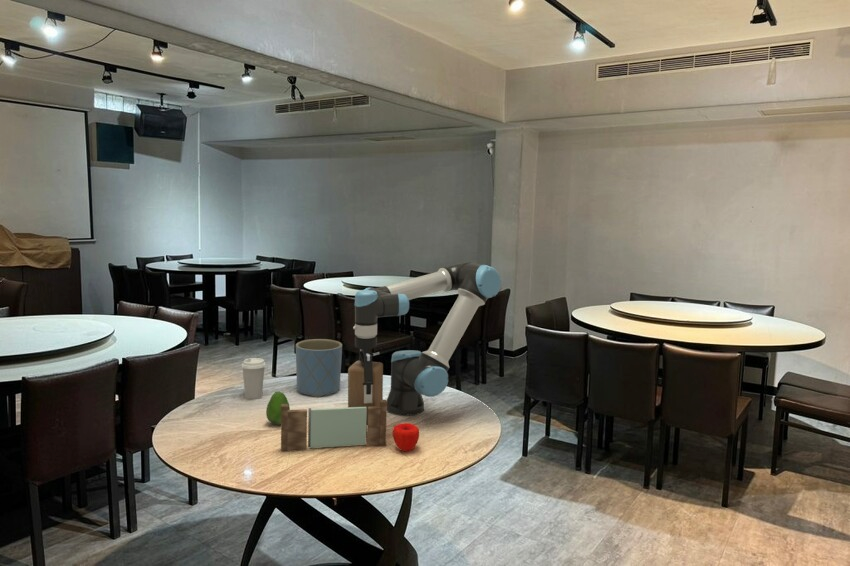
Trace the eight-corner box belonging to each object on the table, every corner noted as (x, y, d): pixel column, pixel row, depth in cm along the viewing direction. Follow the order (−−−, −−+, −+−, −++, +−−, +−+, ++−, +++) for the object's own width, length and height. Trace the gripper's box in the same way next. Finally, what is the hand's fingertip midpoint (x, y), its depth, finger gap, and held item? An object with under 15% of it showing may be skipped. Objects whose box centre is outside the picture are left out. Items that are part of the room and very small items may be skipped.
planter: (319, 401, 230) (320, 352, 227) (285, 391, 240) (285, 344, 237) (350, 389, 246) (351, 343, 243) (317, 380, 256) (318, 336, 253)
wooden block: (375, 427, 195) (375, 370, 192) (347, 424, 196) (347, 367, 193) (383, 416, 204) (383, 361, 201) (356, 413, 206) (356, 359, 203)
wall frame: (384, 442, 193) (385, 399, 191) (385, 445, 191) (387, 402, 189) (281, 448, 185) (281, 403, 183) (280, 451, 183) (281, 406, 181)
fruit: (272, 418, 210) (272, 386, 208) (293, 421, 209) (293, 389, 207) (262, 426, 202) (262, 393, 201) (283, 429, 201) (283, 396, 199)
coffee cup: (247, 391, 237) (247, 356, 235) (269, 393, 236) (269, 358, 234) (236, 399, 228) (236, 362, 226) (259, 401, 227) (259, 364, 225)
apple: (393, 442, 194) (393, 420, 192) (419, 443, 193) (420, 421, 192) (390, 453, 185) (391, 430, 184) (418, 455, 184) (419, 432, 183)
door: (365, 443, 191) (366, 405, 189) (365, 444, 190) (366, 406, 188) (308, 446, 187) (308, 407, 185) (308, 447, 185) (308, 409, 184)
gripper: (351, 327, 207) (350, 385, 210) (359, 345, 183) (358, 409, 186) (371, 327, 208) (371, 384, 212) (382, 344, 185) (381, 408, 188)
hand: (365, 396), depth 199 cm, fingers closed on wooden block, 12 cm apart
